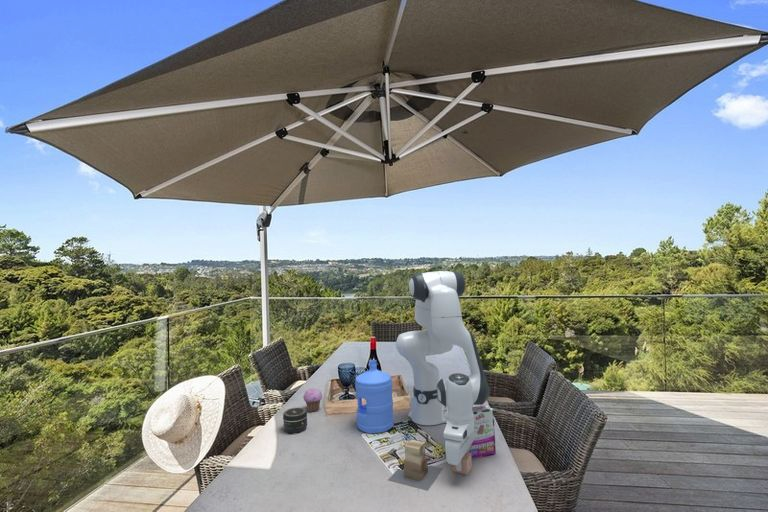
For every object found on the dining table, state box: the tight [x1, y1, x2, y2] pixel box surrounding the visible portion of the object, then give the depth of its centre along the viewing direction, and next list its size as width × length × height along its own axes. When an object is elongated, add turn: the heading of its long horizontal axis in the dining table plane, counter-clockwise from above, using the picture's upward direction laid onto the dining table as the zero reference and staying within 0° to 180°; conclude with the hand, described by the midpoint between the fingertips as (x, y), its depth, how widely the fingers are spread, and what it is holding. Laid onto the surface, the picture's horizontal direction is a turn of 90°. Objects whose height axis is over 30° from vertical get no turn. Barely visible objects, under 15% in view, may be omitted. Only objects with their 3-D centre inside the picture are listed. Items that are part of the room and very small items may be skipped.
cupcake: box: [302, 388, 323, 413], centre depth 197 cm, size 9×9×10 cm
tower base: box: [402, 455, 429, 481], centre depth 137 cm, size 6×6×5 cm
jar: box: [282, 407, 308, 434], centre depth 176 cm, size 10×10×8 cm
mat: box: [387, 464, 444, 492], centre depth 137 cm, size 14×14×1 cm
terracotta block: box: [452, 453, 473, 475], centre depth 139 cm, size 5×5×5 cm
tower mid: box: [404, 439, 426, 464], centre depth 137 cm, size 5×5×5 cm
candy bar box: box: [469, 404, 497, 459], centre depth 149 cm, size 11×5×16 cm, turn 105°
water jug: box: [354, 359, 395, 434], centre depth 176 cm, size 16×16×28 cm
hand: (462, 465), depth 139 cm, fingers closed on terracotta block, 5 cm apart
